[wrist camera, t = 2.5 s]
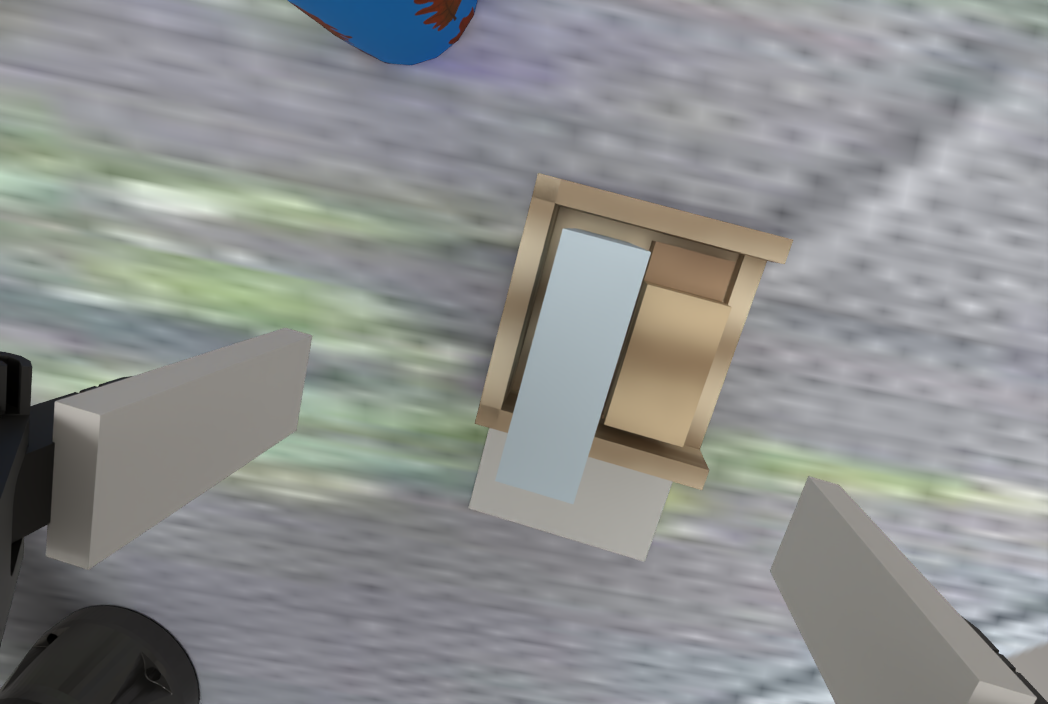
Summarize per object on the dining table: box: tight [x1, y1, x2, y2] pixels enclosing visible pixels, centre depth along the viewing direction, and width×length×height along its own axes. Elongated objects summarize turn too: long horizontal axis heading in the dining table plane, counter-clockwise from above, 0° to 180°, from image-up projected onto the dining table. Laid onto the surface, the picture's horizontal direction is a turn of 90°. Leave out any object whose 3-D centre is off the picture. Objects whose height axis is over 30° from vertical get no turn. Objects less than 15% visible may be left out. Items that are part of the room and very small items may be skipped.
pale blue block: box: [495, 228, 651, 504], centre depth 32 cm, size 11×4×17 cm, turn 165°
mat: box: [469, 428, 673, 562], centre depth 44 cm, size 7×14×1 cm, turn 76°
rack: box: [475, 173, 793, 490], centre depth 38 cm, size 16×15×6 cm
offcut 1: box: [601, 241, 735, 419], centre depth 38 cm, size 12×5×3 cm, turn 166°
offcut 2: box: [604, 280, 732, 447], centre depth 36 cm, size 9×5×3 cm, turn 166°
